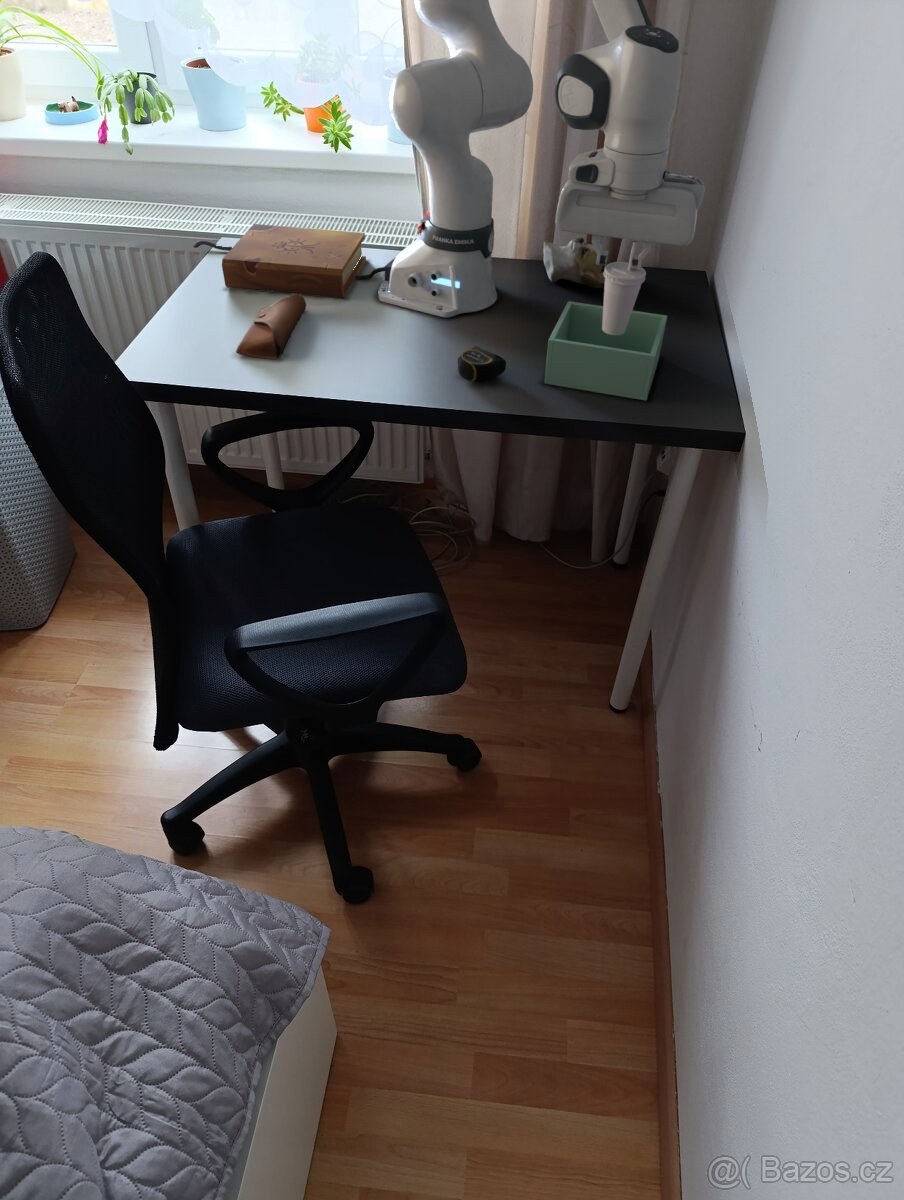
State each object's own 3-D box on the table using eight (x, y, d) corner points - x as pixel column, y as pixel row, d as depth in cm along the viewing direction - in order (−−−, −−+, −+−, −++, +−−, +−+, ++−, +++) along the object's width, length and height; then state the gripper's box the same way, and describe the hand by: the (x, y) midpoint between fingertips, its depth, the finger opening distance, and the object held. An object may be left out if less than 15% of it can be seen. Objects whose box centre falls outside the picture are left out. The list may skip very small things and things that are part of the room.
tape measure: (507, 377, 136) (509, 356, 134) (479, 392, 133) (480, 370, 130) (477, 362, 140) (477, 341, 137) (448, 376, 136) (448, 355, 134)
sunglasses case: (261, 306, 153) (275, 277, 149) (296, 327, 155) (310, 298, 151) (233, 354, 140) (248, 323, 136) (272, 375, 142) (287, 345, 138)
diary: (226, 290, 159) (220, 260, 155) (257, 252, 172) (253, 223, 168) (343, 300, 156) (340, 269, 152) (366, 260, 170) (364, 231, 166)
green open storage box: (544, 383, 135) (548, 339, 130) (563, 343, 145) (568, 301, 140) (646, 400, 131) (655, 356, 126) (659, 358, 141) (667, 315, 136)
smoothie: (632, 341, 130) (652, 252, 121) (591, 336, 131) (608, 246, 121) (634, 323, 135) (653, 235, 125) (595, 317, 136) (611, 230, 126)
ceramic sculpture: (547, 222, 161) (624, 233, 160) (541, 266, 168) (615, 276, 167) (542, 244, 154) (623, 255, 153) (536, 289, 160) (613, 300, 159)
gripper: (710, 169, 116) (690, 267, 126) (567, 153, 121) (558, 250, 130) (706, 183, 112) (685, 284, 122) (557, 167, 116) (549, 265, 126)
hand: (618, 266), depth 126 cm, fingers closed on smoothie, 4 cm apart
